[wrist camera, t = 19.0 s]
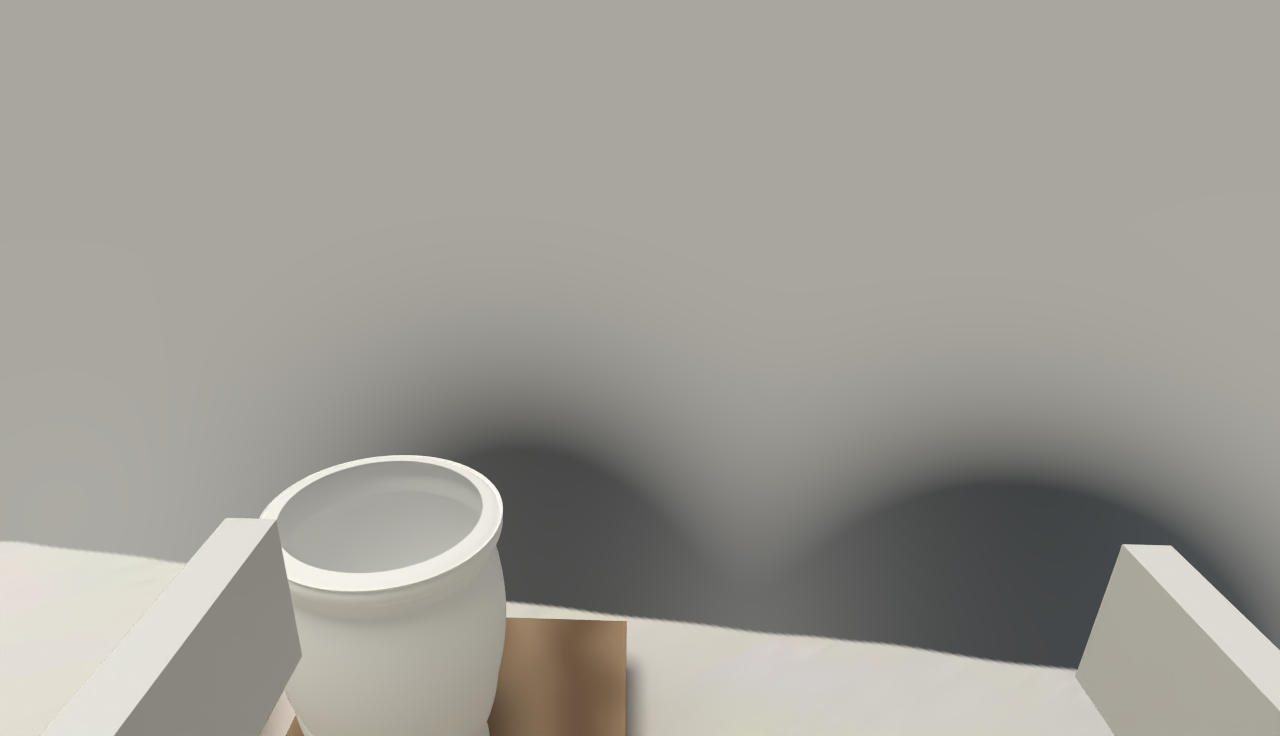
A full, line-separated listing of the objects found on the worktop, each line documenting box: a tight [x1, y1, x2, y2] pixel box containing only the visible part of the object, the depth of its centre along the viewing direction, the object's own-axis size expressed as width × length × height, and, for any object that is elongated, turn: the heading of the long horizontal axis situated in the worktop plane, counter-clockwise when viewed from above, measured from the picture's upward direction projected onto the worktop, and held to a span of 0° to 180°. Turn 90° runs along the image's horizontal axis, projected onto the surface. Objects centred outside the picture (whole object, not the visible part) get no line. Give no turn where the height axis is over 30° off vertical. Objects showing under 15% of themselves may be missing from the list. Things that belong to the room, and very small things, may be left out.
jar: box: [259, 455, 506, 736], centre depth 36 cm, size 11×10×15 cm
